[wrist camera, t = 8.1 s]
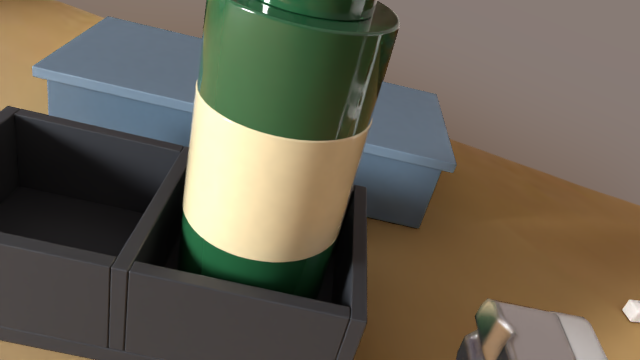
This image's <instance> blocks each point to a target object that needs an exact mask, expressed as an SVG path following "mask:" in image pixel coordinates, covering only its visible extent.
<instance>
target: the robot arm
mask: <svg viewBox="0 0 640 360" xmlns="http://www.w3.org/2000/svg"><path fill="white" fill-rule="evenodd" d="M475 319H476V323H477V328H478V329H477V330H475V331H473V332H472V333H470V334H468V335H466V336H465V337H464V339H463V341H462V343H461V345H460V348H459V350H458V353H457V358H456V360H608V359H607V357H606V355H605V353H604V351H603V349H602V347H601V345H600V343H599V340H598V338H597V336H596V334H595V332H594V330H593V328H592V326H591V324H590V323H589V322H588V321H587V320H586V319H585V318H584V317H580V316H575V315H570V314H565V313H559V312H554V311H550V312H549V311H545V310H541V309H536V308H531V307H526V306H522V305H517V304H512V303H508V302H503V301H498V300H493V299H489V298H487V299H486V300H485V301H484V302H483V303H482V304H481V306H480V308H479V309H478V311H477V313H476V315H475Z"/></svg>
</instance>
